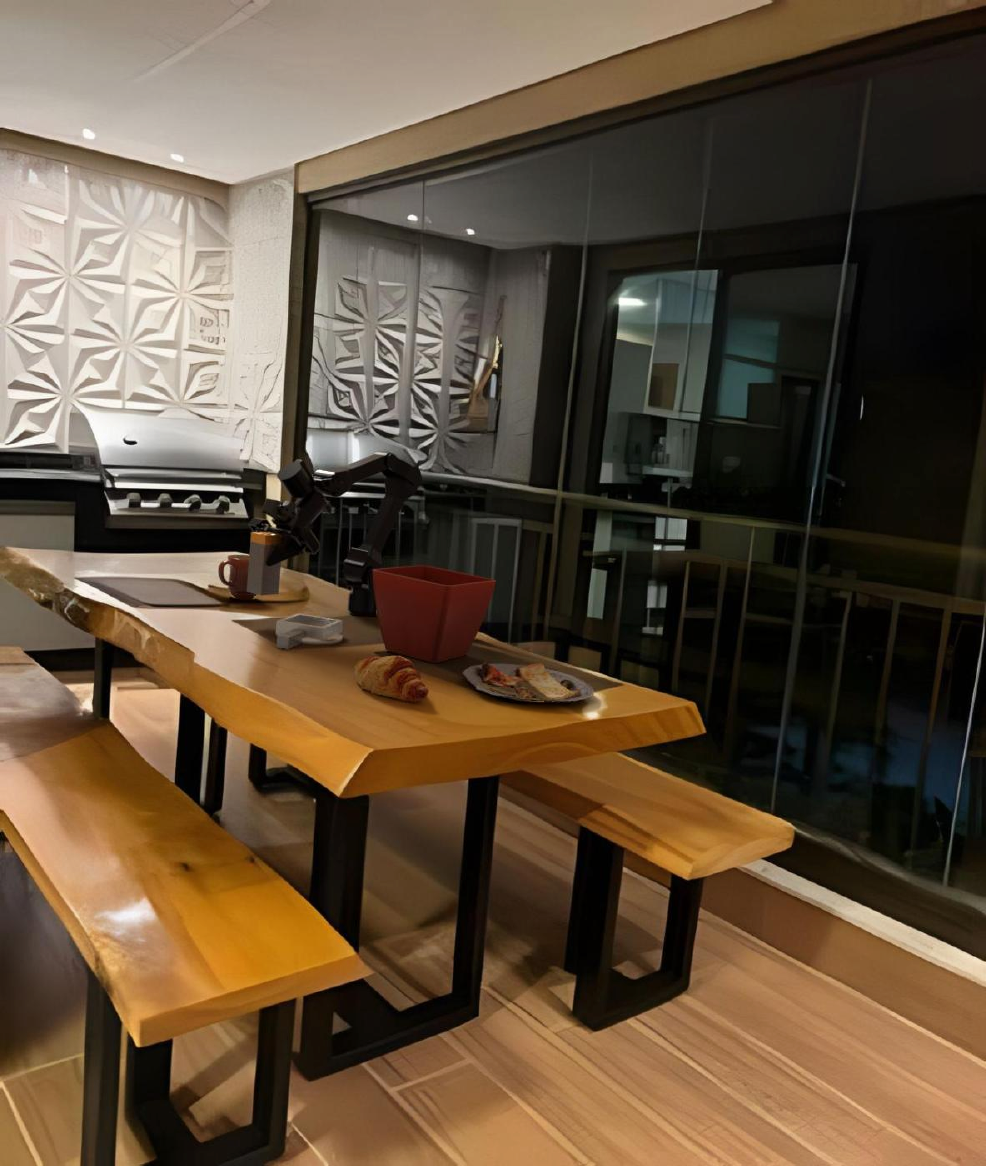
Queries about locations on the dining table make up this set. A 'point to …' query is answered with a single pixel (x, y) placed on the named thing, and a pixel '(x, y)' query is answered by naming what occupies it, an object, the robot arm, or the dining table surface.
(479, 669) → the food plate
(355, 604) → the robot arm
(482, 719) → the dining table surface
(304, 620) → the square socket
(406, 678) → the croissant
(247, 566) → the mug
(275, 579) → the orange square peg
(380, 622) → the plant pot
